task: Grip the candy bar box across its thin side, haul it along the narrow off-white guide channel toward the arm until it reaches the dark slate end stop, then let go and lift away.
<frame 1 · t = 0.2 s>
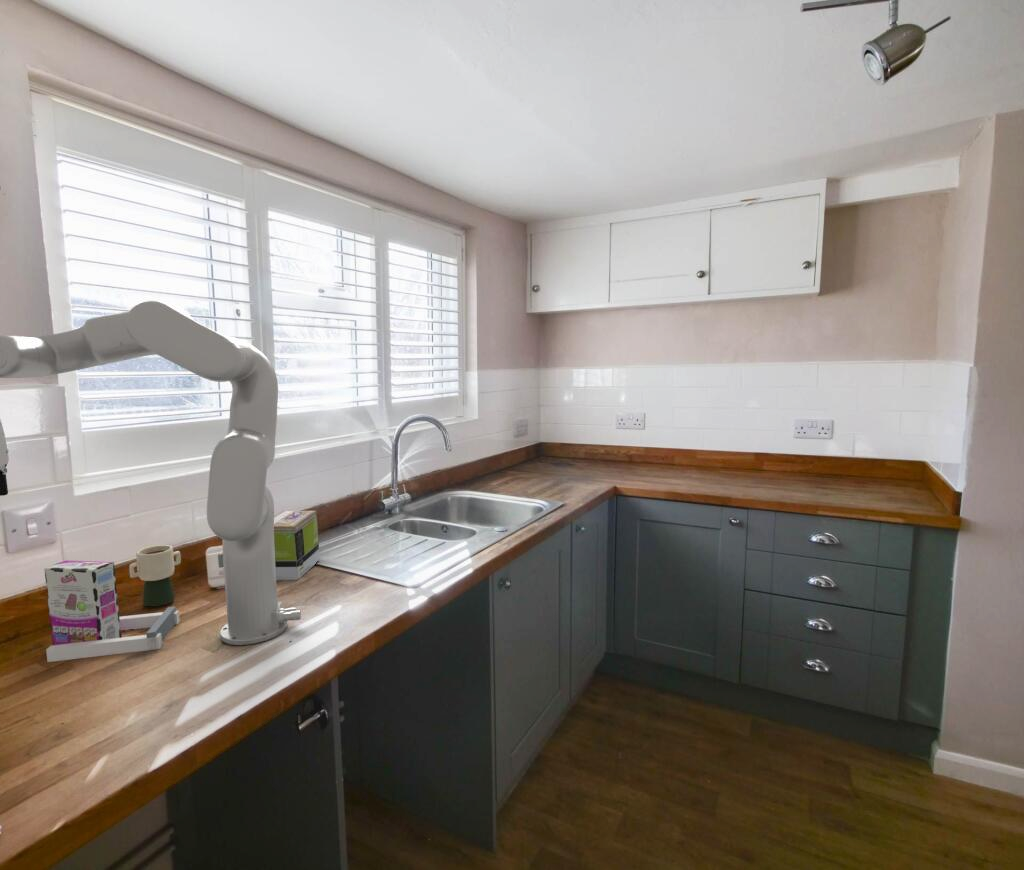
candy bar box: (88, 644, 110), on the worktop
character mug: (159, 604, 128), on the worktop
tea box: (291, 571, 149), on the worktop
guide channel: (117, 640, 111), on the worktop
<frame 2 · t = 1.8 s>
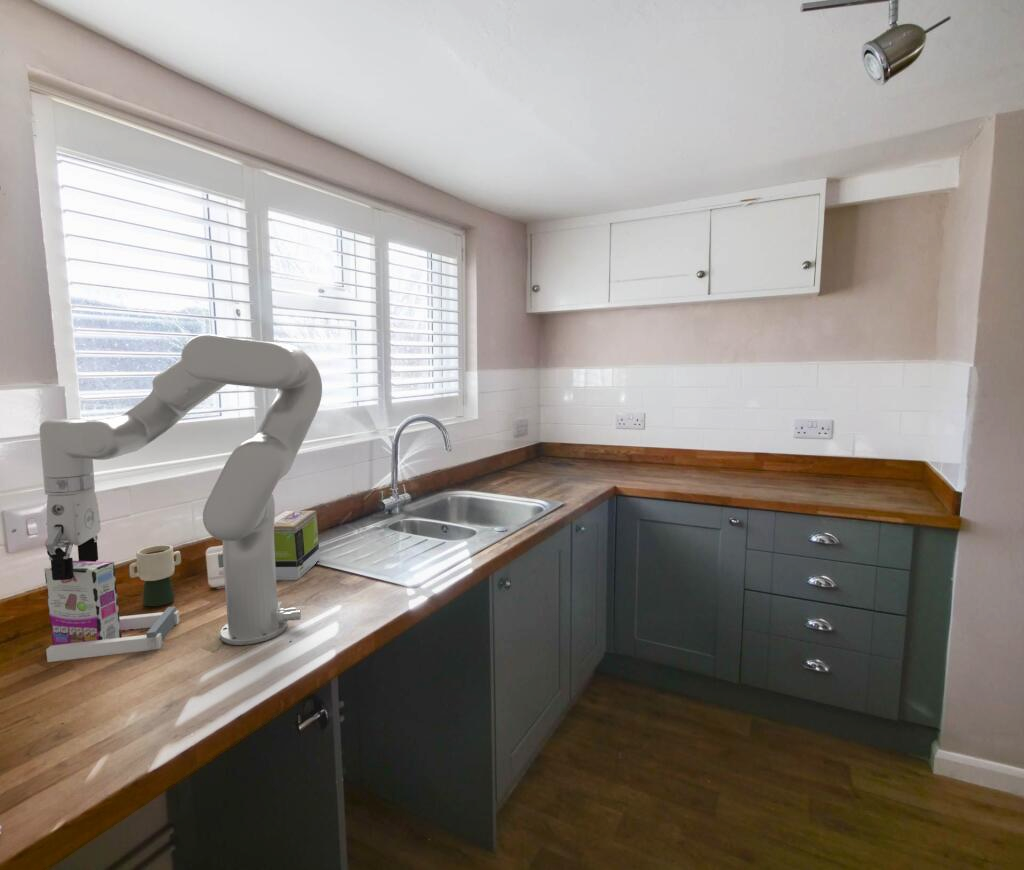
hand: (76, 569, 108), 15 cm above the worktop, tool pointing down, fingers open, 9 cm apart
nothing on the worktop moved.
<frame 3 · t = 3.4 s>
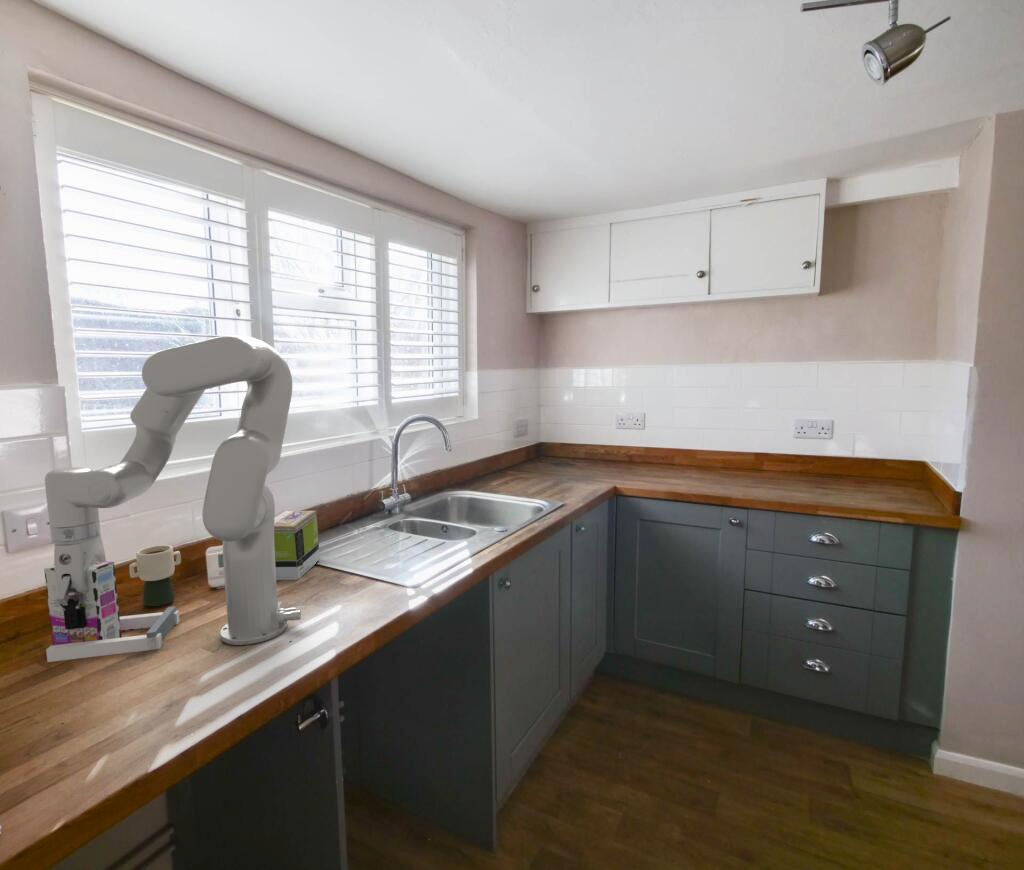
hand: (85, 618, 109), 5 cm above the worktop, tool pointing down, fingers closed on candy bar box, 6 cm apart
candy bar box: (88, 644, 110), on the worktop, touching gripper
everything else where it was.
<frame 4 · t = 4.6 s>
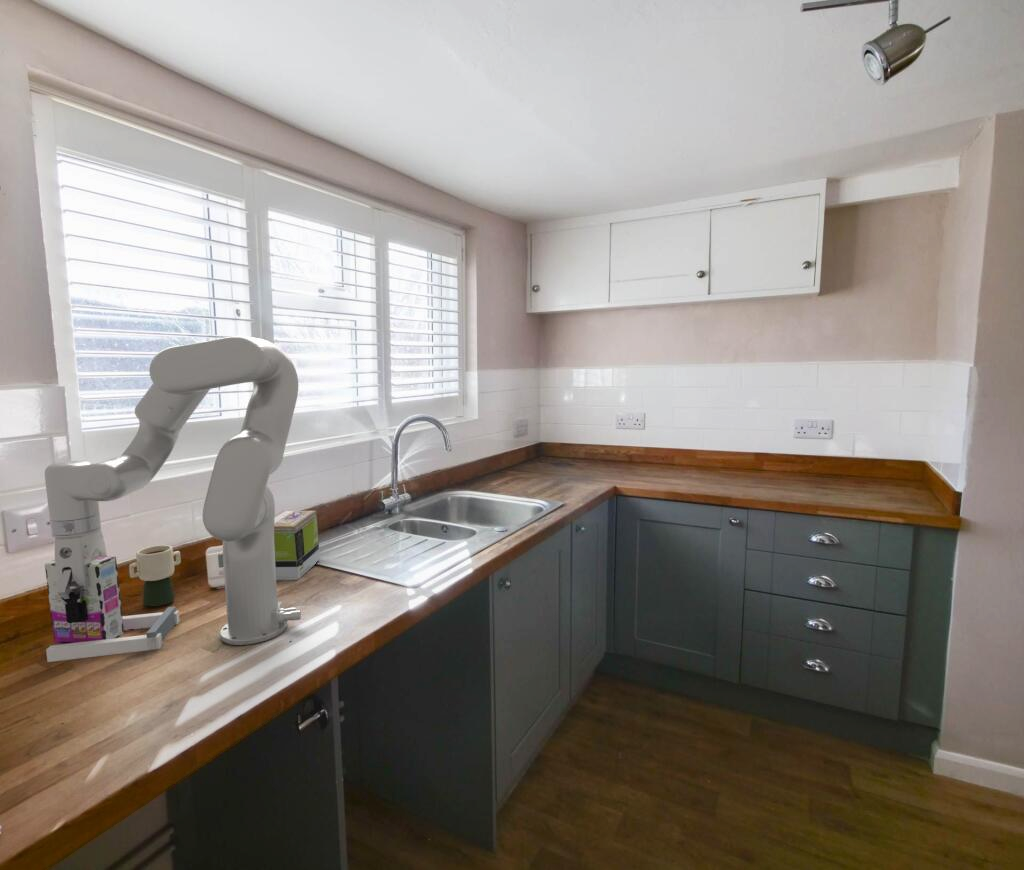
hand: (86, 613, 109), 6 cm above the worktop, tool pointing down, fingers closed on candy bar box, 6 cm apart
candy bar box: (90, 639, 110), point 1 cm above the worktop, touching gripper
everything else where it was.
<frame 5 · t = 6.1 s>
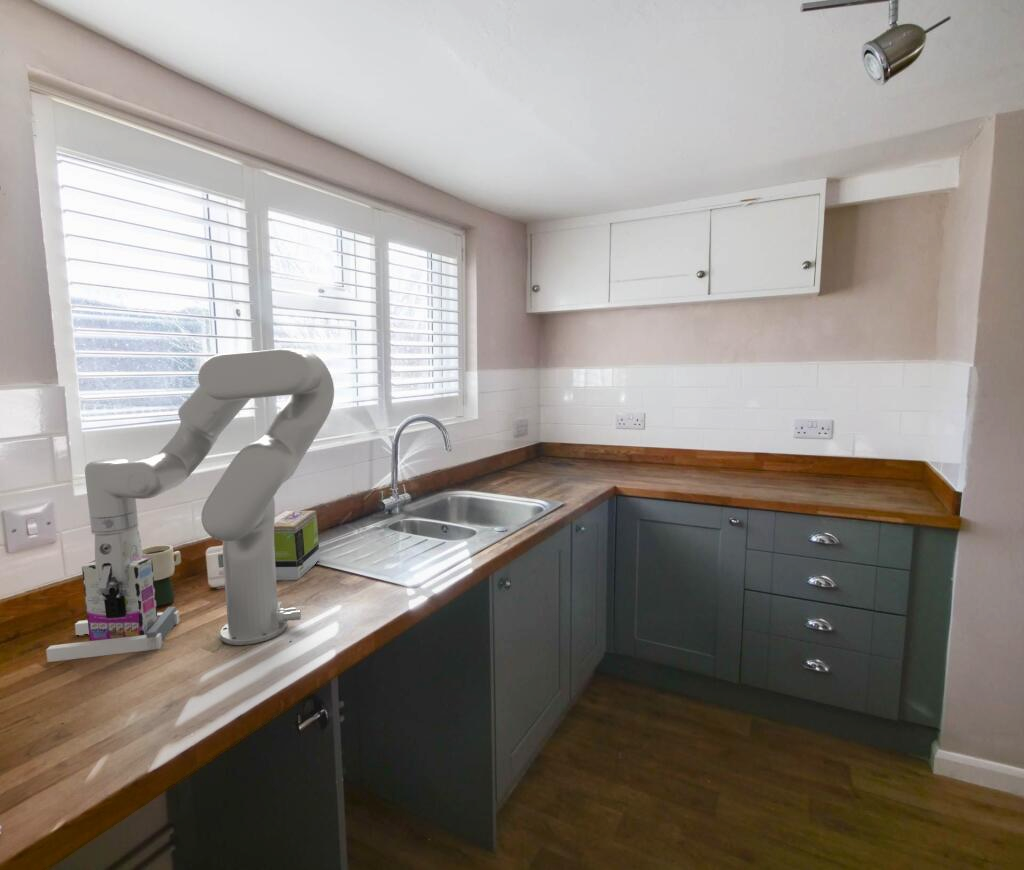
hand: (123, 608, 110), 6 cm above the worktop, tool pointing down, fingers open, 6 cm apart
candy bar box: (125, 640, 111), on the worktop, touching gripper
everything else where it was.
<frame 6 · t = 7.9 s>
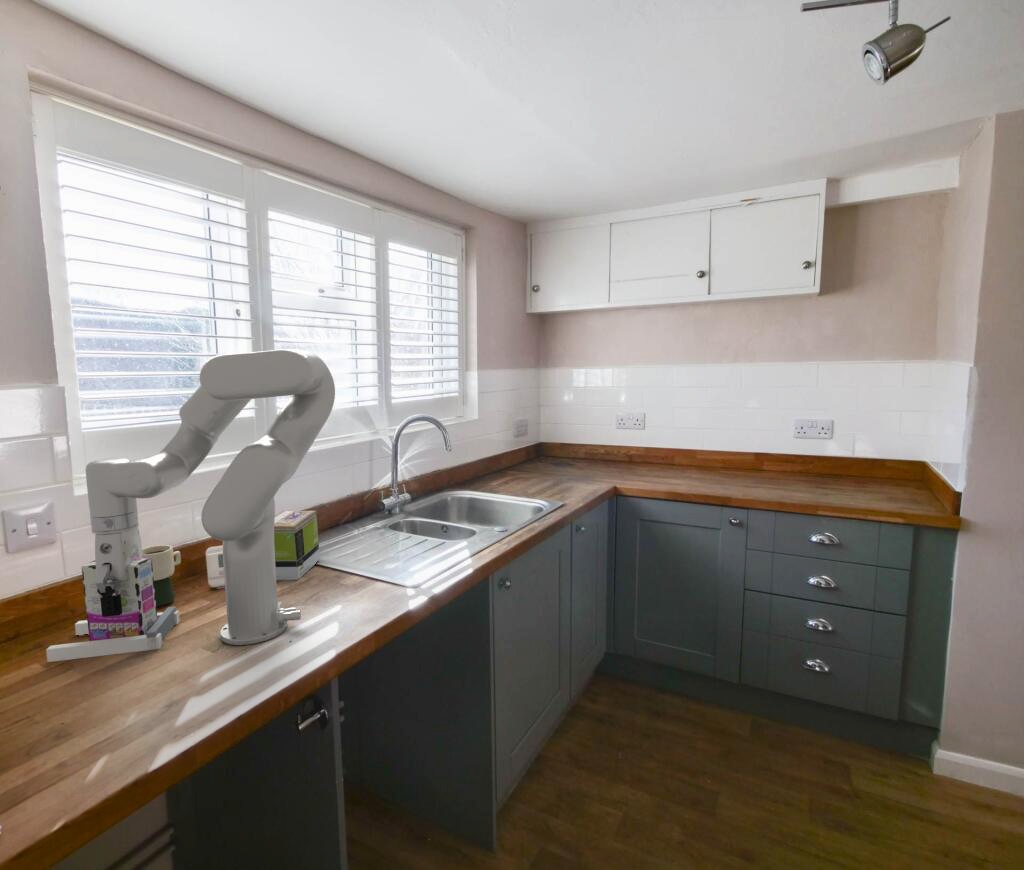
hand: (123, 604, 110), 7 cm above the worktop, tool pointing down, fingers open, 9 cm apart
candy bar box: (125, 640, 111), on the worktop
everything else where it was.
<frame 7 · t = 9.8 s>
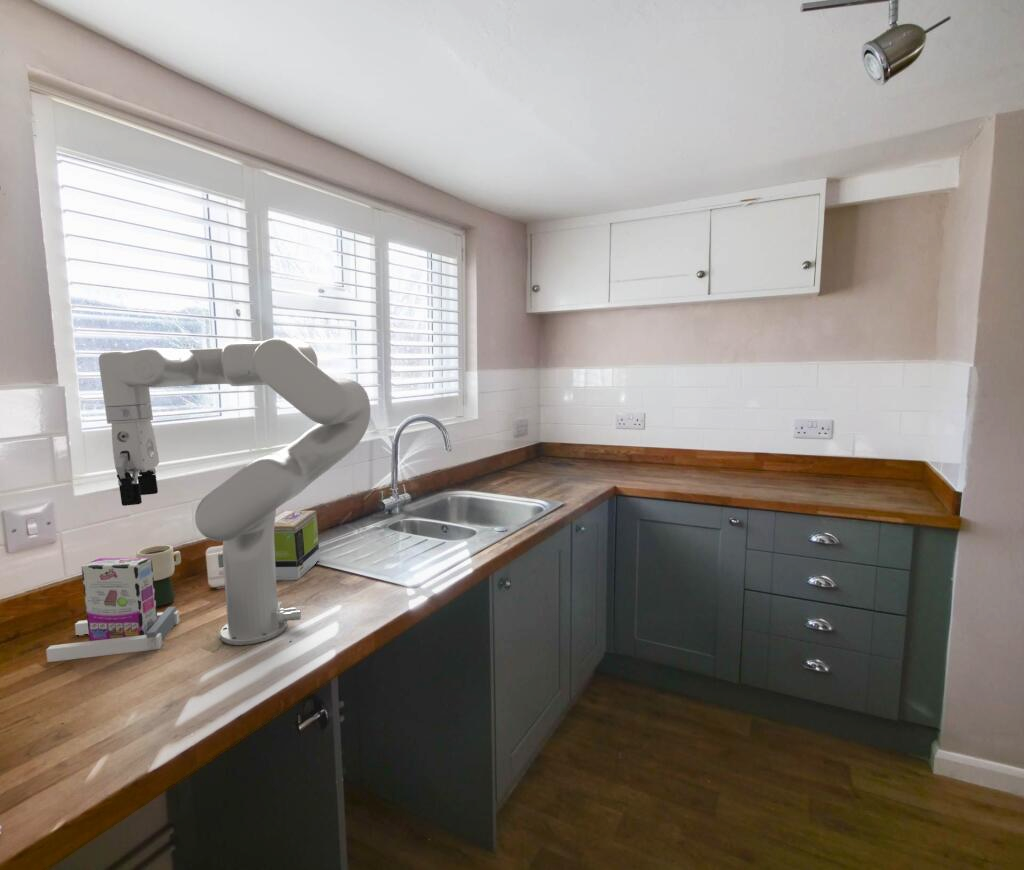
hand: (140, 499, 111), 28 cm above the worktop, tool pointing down, fingers open, 9 cm apart
nothing on the worktop moved.
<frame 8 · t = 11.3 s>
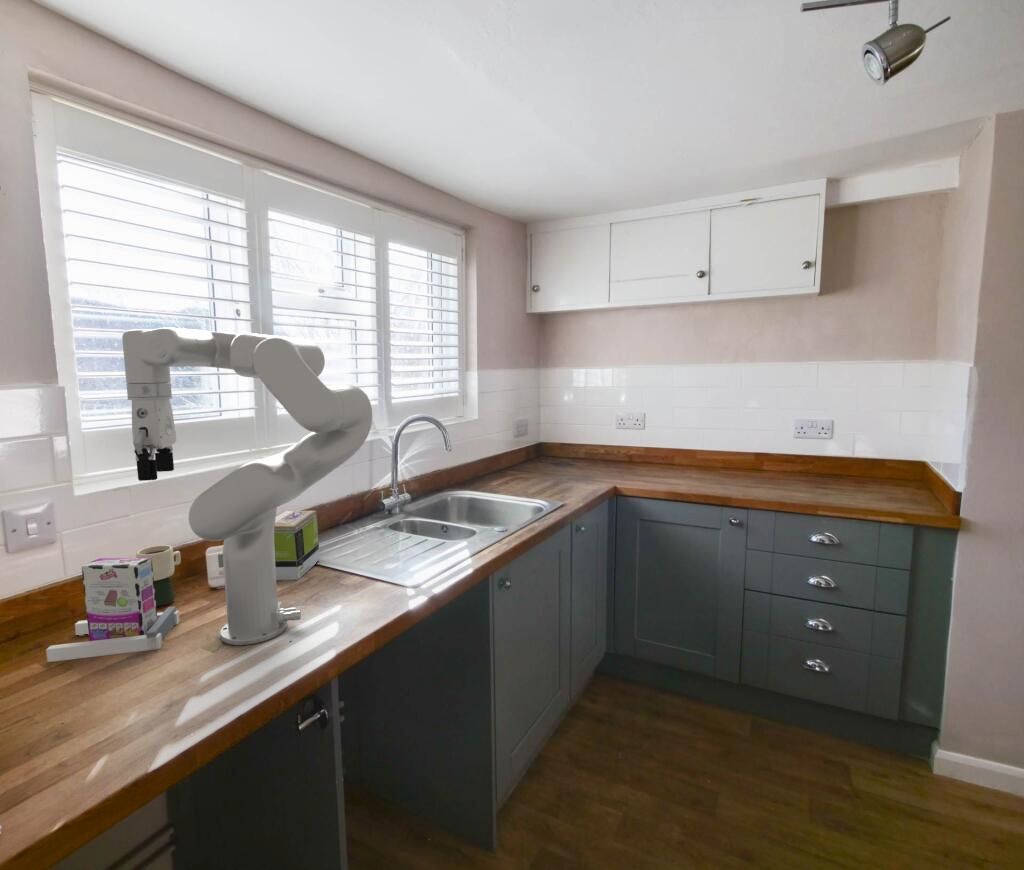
hand: (157, 475, 114), 32 cm above the worktop, tool pointing down, fingers open, 9 cm apart
nothing on the worktop moved.
at the end: candy bar box 0.4 cm from the target spot, on the worktop; candy bar box tilted 0°; the gripper is holding nothing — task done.
